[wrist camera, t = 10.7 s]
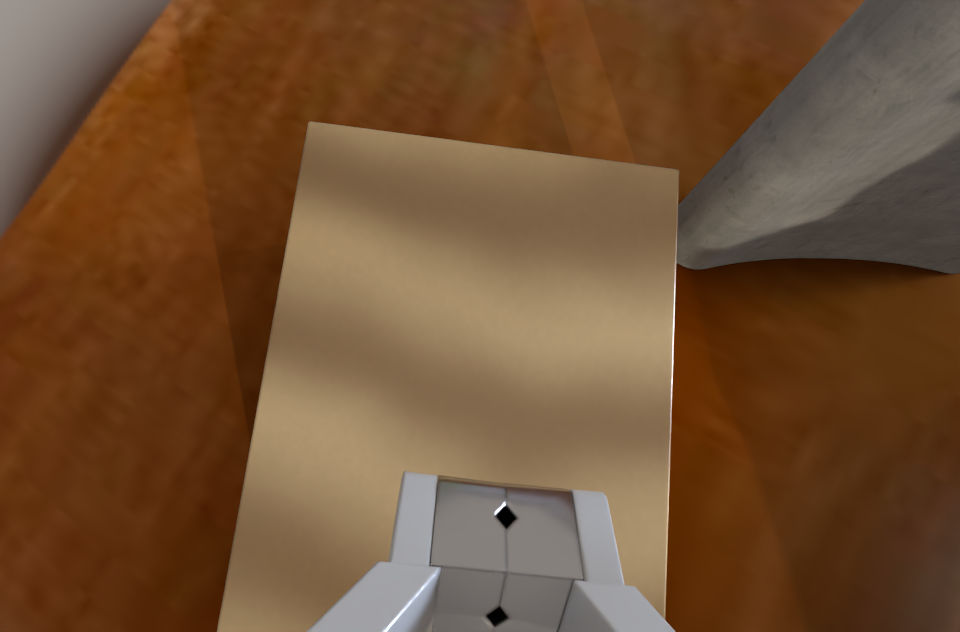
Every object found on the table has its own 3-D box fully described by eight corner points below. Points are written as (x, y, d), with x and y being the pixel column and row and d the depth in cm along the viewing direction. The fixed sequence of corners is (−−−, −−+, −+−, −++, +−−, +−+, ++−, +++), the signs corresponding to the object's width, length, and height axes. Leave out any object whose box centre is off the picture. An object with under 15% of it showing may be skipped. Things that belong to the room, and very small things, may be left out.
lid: (311, 131, 23) (308, 119, 22) (671, 178, 24) (679, 168, 23) (219, 653, 19) (210, 660, 18) (654, 691, 20) (663, 699, 19)
